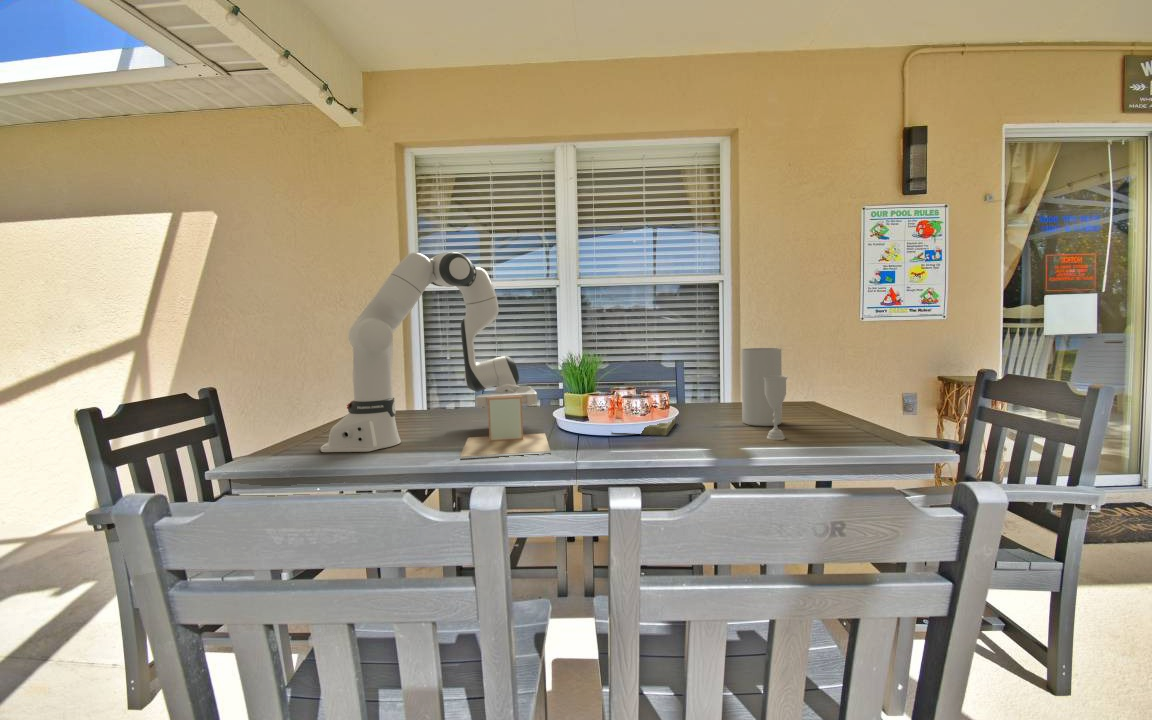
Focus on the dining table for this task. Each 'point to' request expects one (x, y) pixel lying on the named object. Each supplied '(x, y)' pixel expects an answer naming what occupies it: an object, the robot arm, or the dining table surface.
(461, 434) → the dining table surface
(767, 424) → the cylinder vase
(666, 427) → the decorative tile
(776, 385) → the chalice
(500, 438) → the terracotta tile
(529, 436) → the oak board
